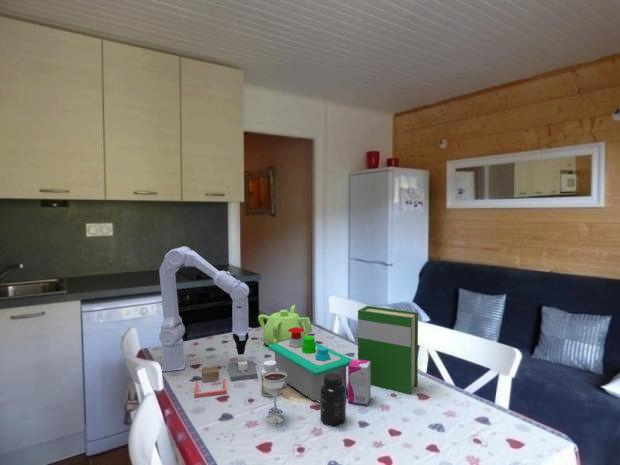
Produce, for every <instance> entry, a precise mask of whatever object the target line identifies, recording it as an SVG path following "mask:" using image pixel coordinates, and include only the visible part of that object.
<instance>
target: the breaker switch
mask: <svg viewBox="0 0 620 465" xmlns="http://www.w3.org/2000/svg"><path fill="white" fill-rule="evenodd" d="M247 361H248V360H244V361H237V362H238V369H239V371H243V370H248V364H247Z"/></svg>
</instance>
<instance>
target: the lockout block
mask: <svg viewBox="0 0 620 465" xmlns="http://www.w3.org/2000/svg"><path fill="white" fill-rule="evenodd" d="M201 377H202V382H203V384H205V383H213V382H219V381H220V370H219V368H218V365H211V366H203V367H201Z"/></svg>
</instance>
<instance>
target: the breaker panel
mask: <svg viewBox="0 0 620 465" xmlns="http://www.w3.org/2000/svg"><path fill="white" fill-rule="evenodd" d="M246 361H247V364H248V370H243V371H239V369H238V362H239V361H237V362H230V363H228V372H229V379H230V380H229V381H230V382H235V381H244V380H252V379H258V378H259V376H258V371H257V367H256V365H255V362H254V360H249V361H248V360H246Z"/></svg>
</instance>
